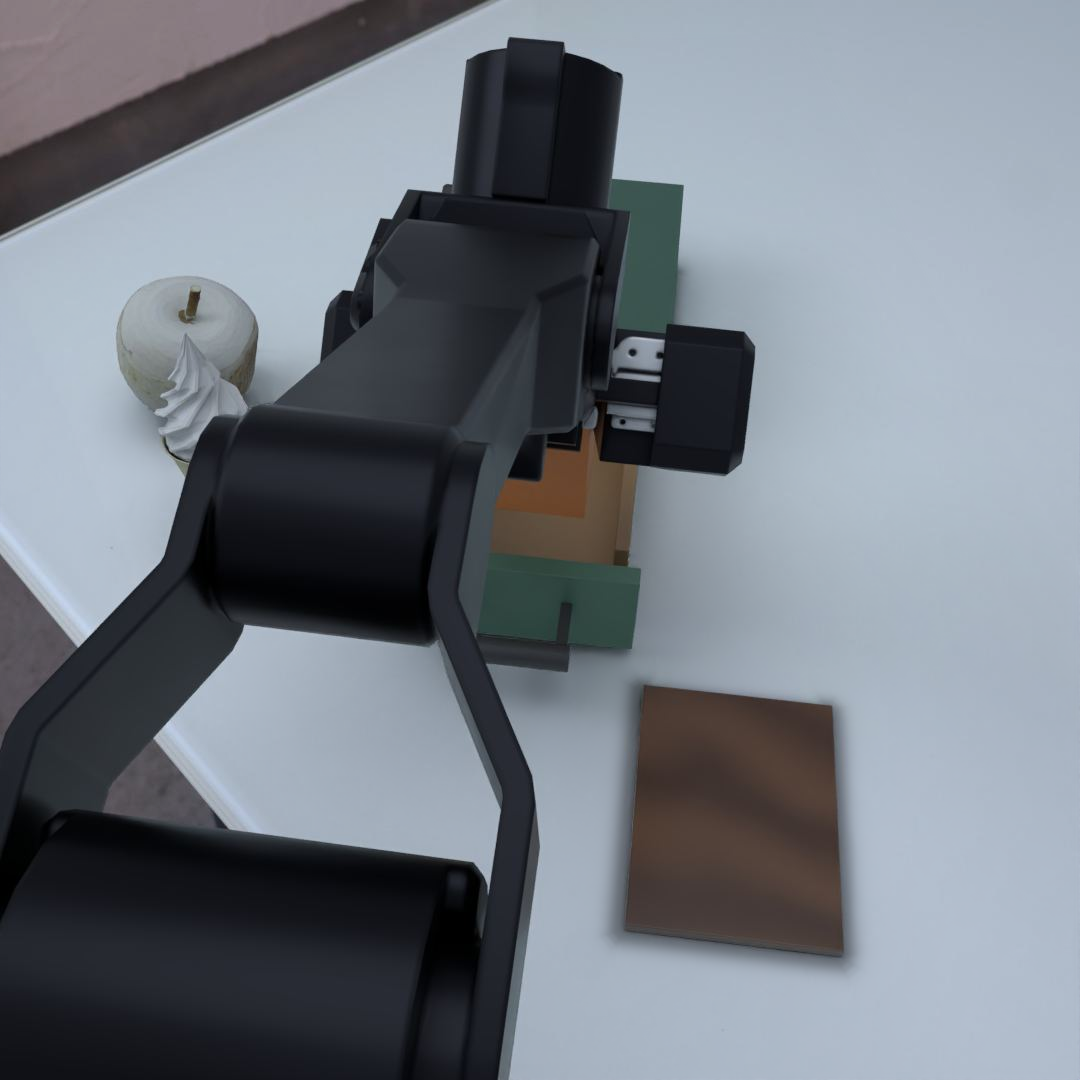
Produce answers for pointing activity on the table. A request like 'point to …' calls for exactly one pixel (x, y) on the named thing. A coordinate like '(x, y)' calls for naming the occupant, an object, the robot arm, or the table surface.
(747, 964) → the table surface
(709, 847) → the board
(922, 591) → the table surface
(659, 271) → the cabinet
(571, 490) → the orange rectangular prism
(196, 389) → the ice cream cone
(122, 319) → the decorative object
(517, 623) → the drawer
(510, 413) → the robot arm
